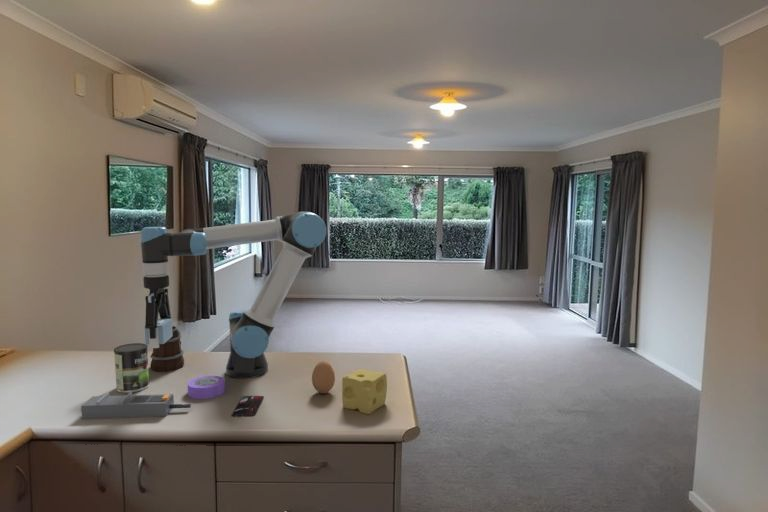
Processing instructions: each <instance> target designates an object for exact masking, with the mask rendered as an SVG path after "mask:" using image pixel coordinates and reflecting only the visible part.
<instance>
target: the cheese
mask: <svg viewBox="0 0 768 512" xmlns="http://www.w3.org/2000/svg"><path fill="white" fill-rule="evenodd" d="M387 377H388V376H387V373H385V372H379V371H372V370H369V369H368V370H367V369H364V368H358V369H356V370H354V371H353V372H351V373H350V374H346V375H345V376H343V377H342V380H341V381H342V382H341V384H342V385H341V386H342V387H341V388H342V389H341V390H342V391H341V393H342V397H341V399H342V401H341V402H342V407H343V408H346V409H348V410H353V411H355V410H359V412H360V413H363V414H365V415H370V414H372V413H373V412H374V411H376V410H377V409H379V408H380V407H383V406H384V405H385V404H386V400H387V399H386V398H387V392H388V391H387V389H388V380H387Z"/></svg>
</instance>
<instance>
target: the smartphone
mask: <svg viewBox="0 0 768 512" xmlns="http://www.w3.org/2000/svg"><path fill="white" fill-rule="evenodd" d="M264 398H265V397H264V395H243V396H241V397H240V399H239V401H238V403H237V404H236V406H235V408H234V410H233V412H232V413H231V415H230V416H231V417H232V416H233V418H235V417H236V418H237V417H239V418H241V417H246V418H247V417H249V418H250V417H251V418H253V417H255V416H256V415H257V413H258V411H259V409H260V406H261V405H262V403H263V401H264Z"/></svg>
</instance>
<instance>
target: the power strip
mask: <svg viewBox="0 0 768 512" xmlns="http://www.w3.org/2000/svg"><path fill="white" fill-rule="evenodd" d="M174 400H175V398H174V394H173V393H171V394H170V393H168V394H166V393H165V394H163V393H162V394H160V393H159V394H135V395H133V392H130V393H127V394H126V395H110V392H107V393H105V394H103V396H102V395H96V396H93V395H92V396H91V397H90V398H88V399H87V400H86V401H85V402H84V403H83V404H82V405H80V407H81V408H80V409H81V411H80V412H81V420H84V419H85V420H90V419H94V420H95V419H118V418H120V419H123V418H147V417H149V418H150V417H153V418H154V417H167V416H168V415H169V414H170V412H171V411H172V410H173V409H191V407H192V403H175V401H174Z"/></svg>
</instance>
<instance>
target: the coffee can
mask: <svg viewBox="0 0 768 512" xmlns="http://www.w3.org/2000/svg"><path fill="white" fill-rule="evenodd" d="M148 345H149V344H146V343H141V342H139V343H137V342H134V343H126V344H122V345H118V346H115V348H113V353H114V355H113V356H114V367H115V383H116V387H115V388H116V389H115V390H116V392H119V393H123V394H124V393H125V394H126V393H127V394H129V393H130V392H132V393H136V392H141V391H143V390H145V389H148V388H149V387H150V373H149V356H148V353H149V352H148V348H149V347H148Z"/></svg>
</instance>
